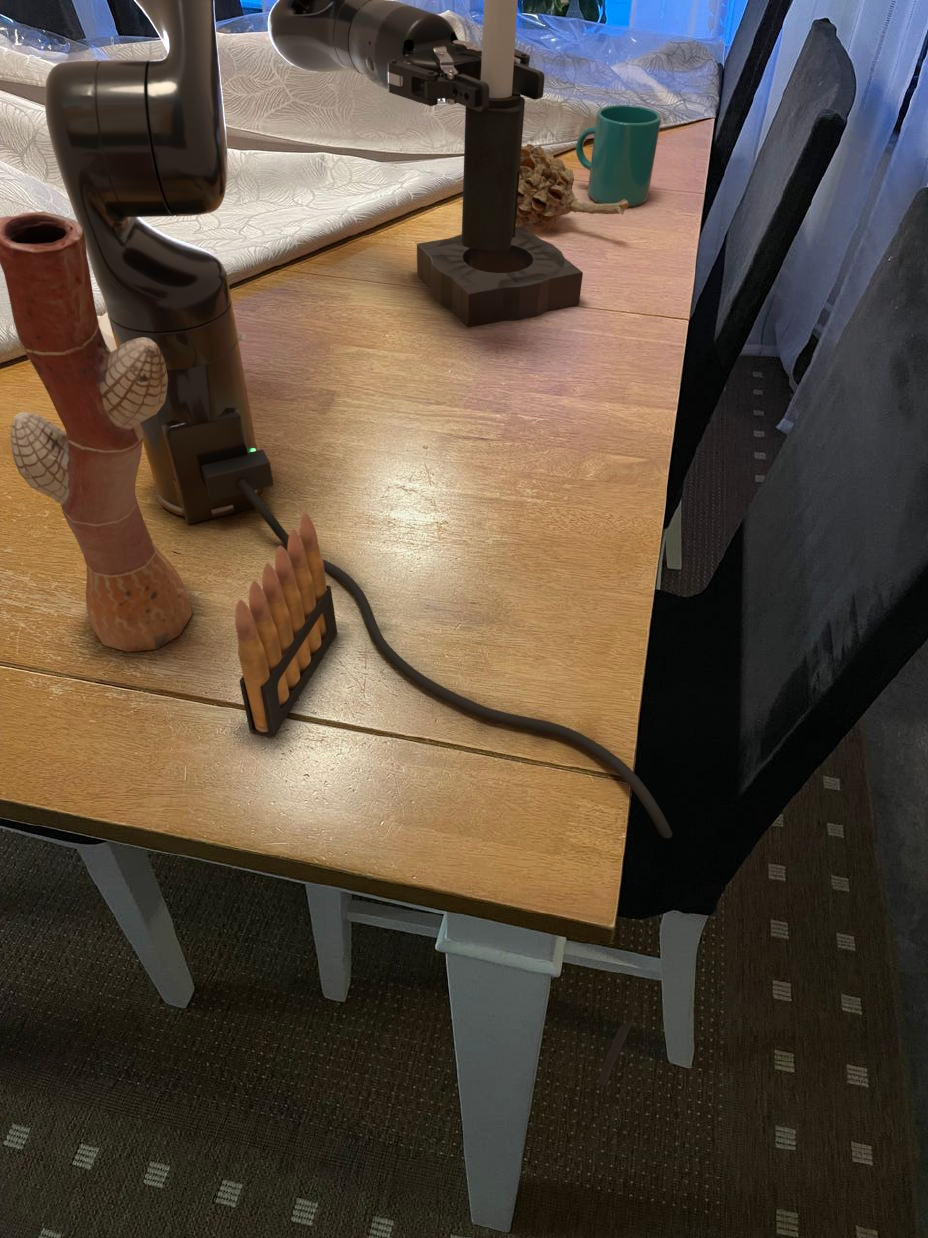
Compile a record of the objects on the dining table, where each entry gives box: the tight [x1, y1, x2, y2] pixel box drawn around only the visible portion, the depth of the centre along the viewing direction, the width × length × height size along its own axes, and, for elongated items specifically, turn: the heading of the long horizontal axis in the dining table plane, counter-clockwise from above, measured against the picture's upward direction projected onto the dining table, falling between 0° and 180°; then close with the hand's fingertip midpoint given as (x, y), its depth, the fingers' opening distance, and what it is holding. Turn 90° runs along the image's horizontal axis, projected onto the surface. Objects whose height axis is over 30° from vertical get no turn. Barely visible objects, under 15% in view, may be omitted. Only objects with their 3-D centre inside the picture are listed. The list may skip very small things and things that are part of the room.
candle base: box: [416, 225, 584, 328], centre depth 107 cm, size 16×16×4 cm
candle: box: [461, 0, 526, 251], centre depth 81 cm, size 5×5×25 cm
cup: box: [575, 104, 662, 208], centre depth 128 cm, size 9×12×11 cm
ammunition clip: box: [234, 512, 338, 738], centre depth 59 cm, size 11×2×12 cm, turn 162°
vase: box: [0, 211, 193, 653], centre depth 56 cm, size 11×7×30 cm
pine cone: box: [516, 143, 629, 230], centre depth 119 cm, size 22×10×10 cm, turn 65°
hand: (513, 92), depth 79 cm, fingers closed on candle, 6 cm apart
